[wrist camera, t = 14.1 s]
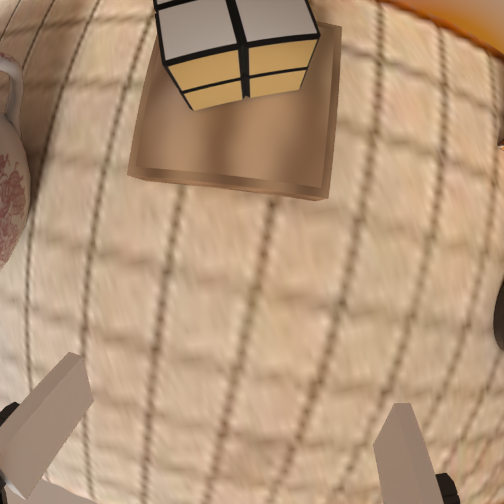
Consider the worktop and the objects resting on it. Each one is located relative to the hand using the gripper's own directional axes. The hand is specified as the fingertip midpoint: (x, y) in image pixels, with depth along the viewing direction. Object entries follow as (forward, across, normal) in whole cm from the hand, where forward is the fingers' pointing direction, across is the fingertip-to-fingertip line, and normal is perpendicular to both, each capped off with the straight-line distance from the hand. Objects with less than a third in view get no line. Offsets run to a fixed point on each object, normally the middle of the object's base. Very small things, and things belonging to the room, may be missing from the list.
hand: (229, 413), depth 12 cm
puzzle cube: (+21, -5, +19) cm, 28 cm away
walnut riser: (+26, -4, +14) cm, 30 cm away
